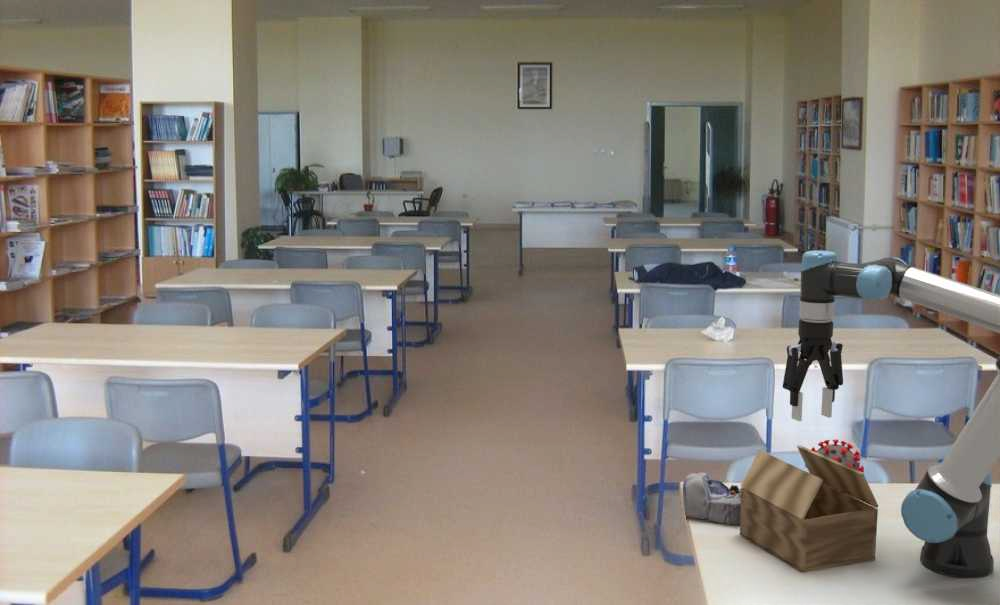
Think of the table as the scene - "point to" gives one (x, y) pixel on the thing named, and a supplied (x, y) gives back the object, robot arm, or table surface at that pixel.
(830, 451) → the virus model
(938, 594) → the table surface
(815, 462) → the right flap
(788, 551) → the carton
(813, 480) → the left flap
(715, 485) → the cell model
